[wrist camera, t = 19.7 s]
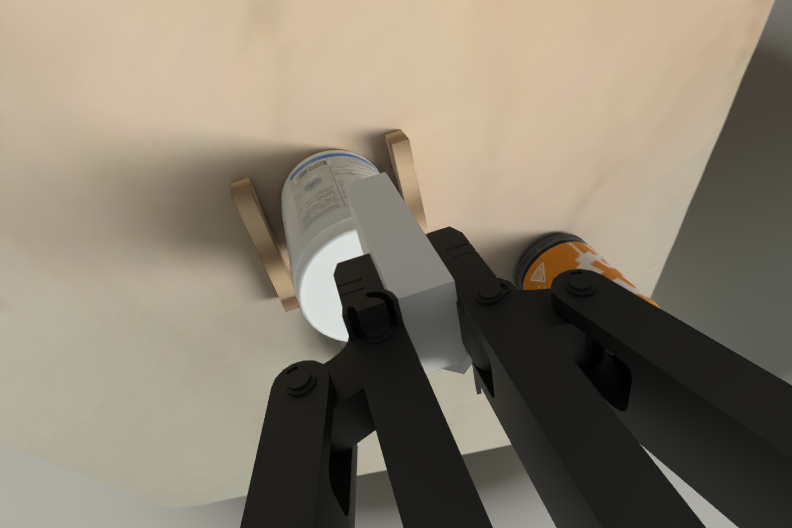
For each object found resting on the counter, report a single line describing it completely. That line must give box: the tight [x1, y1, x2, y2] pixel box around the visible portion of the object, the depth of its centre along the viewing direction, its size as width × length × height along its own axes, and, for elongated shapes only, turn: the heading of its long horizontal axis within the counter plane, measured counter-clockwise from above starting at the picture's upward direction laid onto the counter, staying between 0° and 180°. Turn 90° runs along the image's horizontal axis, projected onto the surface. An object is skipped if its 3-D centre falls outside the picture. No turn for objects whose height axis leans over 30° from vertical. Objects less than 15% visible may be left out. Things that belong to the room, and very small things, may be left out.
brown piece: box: [231, 130, 428, 312], centre depth 44 cm, size 13×15×2 cm
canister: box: [516, 234, 659, 308], centre depth 48 cm, size 9×11×20 cm
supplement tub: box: [281, 150, 380, 342], centre depth 38 cm, size 10×10×15 cm
